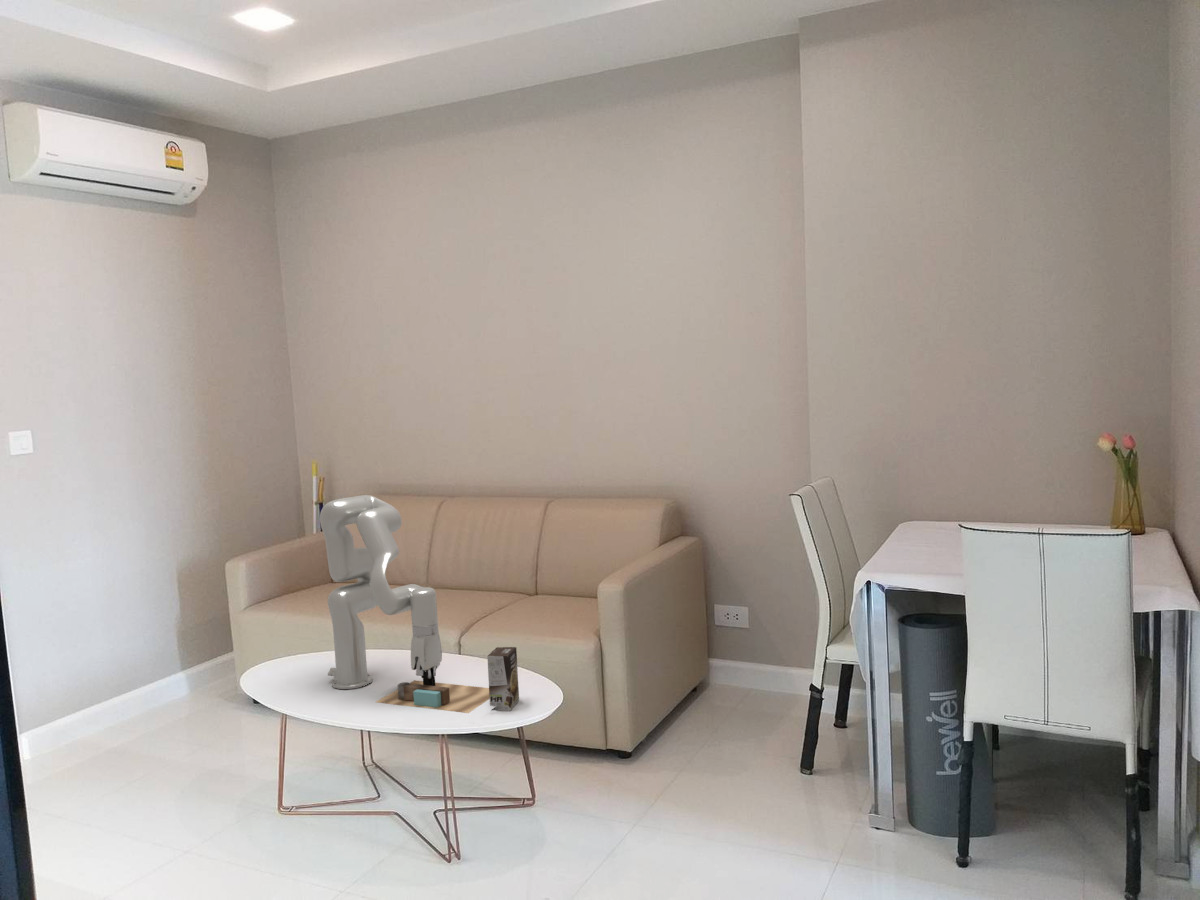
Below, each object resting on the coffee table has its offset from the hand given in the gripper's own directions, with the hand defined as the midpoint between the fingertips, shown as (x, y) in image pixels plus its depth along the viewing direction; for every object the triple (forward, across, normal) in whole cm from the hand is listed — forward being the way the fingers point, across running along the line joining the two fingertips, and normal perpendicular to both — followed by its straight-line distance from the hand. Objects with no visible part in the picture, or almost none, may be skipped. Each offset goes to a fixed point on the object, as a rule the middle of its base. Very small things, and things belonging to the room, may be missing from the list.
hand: (429, 690), depth 268 cm
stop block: (+2, +6, +4) cm, 8 cm away
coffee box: (+4, -4, +24) cm, 24 cm away
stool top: (+3, -1, +2) cm, 4 cm away
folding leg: (+2, +4, 0) cm, 4 cm away
